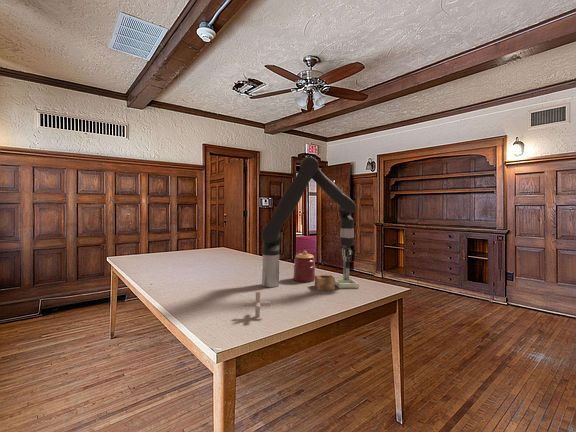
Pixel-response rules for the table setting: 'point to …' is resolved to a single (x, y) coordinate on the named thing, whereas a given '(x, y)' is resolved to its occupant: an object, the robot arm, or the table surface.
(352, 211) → the robot arm
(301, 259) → the canister
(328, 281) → the block
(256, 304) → the pipe connector
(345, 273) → the steel pin
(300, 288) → the table surface
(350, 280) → the tray
